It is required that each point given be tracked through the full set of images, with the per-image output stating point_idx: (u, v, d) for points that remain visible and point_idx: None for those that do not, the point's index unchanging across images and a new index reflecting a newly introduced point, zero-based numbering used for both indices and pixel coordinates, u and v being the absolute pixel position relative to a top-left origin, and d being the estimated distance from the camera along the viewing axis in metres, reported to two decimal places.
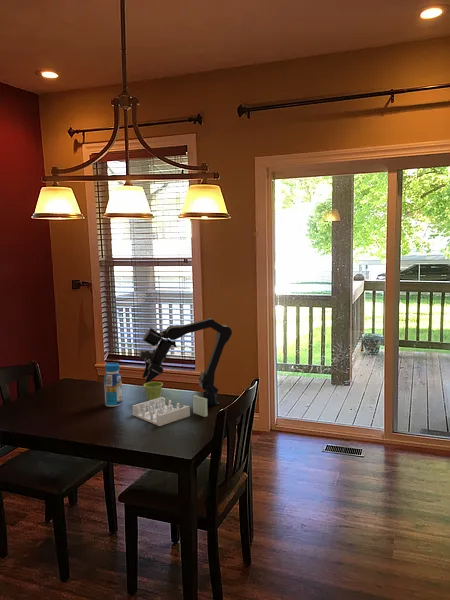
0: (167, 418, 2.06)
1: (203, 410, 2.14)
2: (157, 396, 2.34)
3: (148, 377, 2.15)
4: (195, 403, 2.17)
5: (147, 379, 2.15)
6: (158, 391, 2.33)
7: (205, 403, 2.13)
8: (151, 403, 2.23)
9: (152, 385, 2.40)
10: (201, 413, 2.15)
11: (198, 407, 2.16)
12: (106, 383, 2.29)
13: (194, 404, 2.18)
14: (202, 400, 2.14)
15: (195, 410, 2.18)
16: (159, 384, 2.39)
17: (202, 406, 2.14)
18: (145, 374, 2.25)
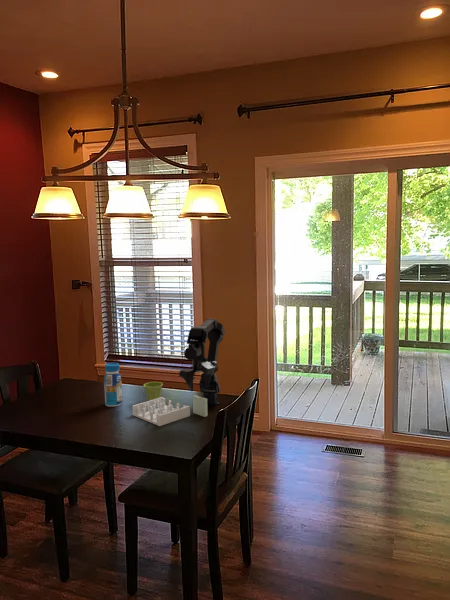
0: (167, 418, 2.06)
1: (203, 410, 2.14)
2: (157, 396, 2.34)
3: None
4: (195, 403, 2.17)
5: None
6: (158, 391, 2.33)
7: (205, 403, 2.13)
8: (151, 403, 2.23)
9: (152, 385, 2.40)
10: (201, 413, 2.15)
11: (198, 407, 2.16)
12: (106, 383, 2.29)
13: (194, 404, 2.18)
14: (202, 400, 2.14)
15: (195, 410, 2.18)
16: (159, 384, 2.39)
17: (202, 406, 2.14)
18: None
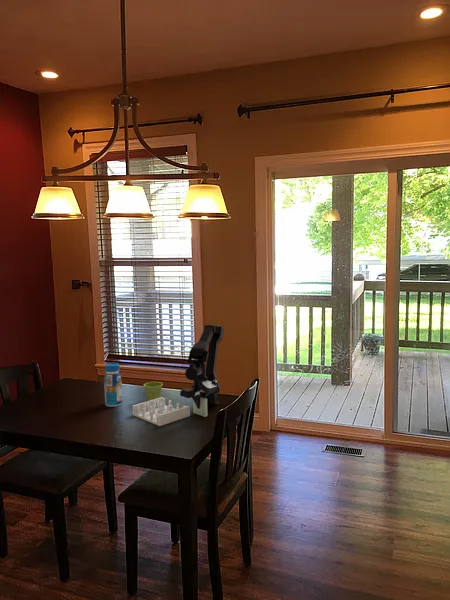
0: (167, 418, 2.06)
1: (203, 410, 2.14)
2: (157, 396, 2.34)
3: None
4: None
5: None
6: (158, 391, 2.33)
7: (205, 403, 2.13)
8: (151, 403, 2.23)
9: (152, 385, 2.40)
10: (201, 413, 2.15)
11: None
12: (106, 383, 2.29)
13: (194, 404, 2.18)
14: (202, 400, 2.14)
15: (195, 410, 2.18)
16: (159, 384, 2.39)
17: (202, 406, 2.14)
18: None
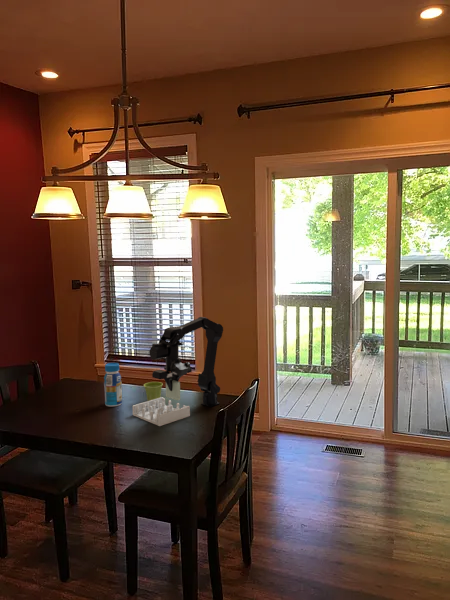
0: (167, 418, 2.06)
1: (176, 393, 2.12)
2: (157, 396, 2.34)
3: None
4: None
5: None
6: (158, 391, 2.33)
7: (178, 386, 2.11)
8: (151, 403, 2.23)
9: (152, 385, 2.40)
10: (174, 396, 2.13)
11: None
12: (106, 383, 2.29)
13: (167, 388, 2.16)
14: (175, 383, 2.12)
15: (168, 394, 2.16)
16: (159, 384, 2.39)
17: (175, 389, 2.12)
18: None
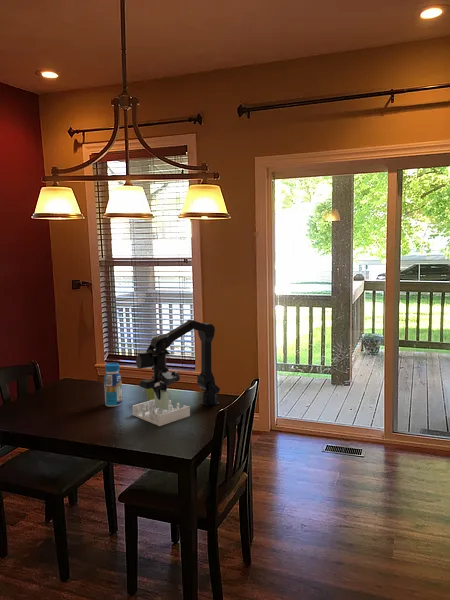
0: (167, 418, 2.06)
1: (164, 403, 2.13)
2: None
3: None
4: (156, 396, 2.16)
5: None
6: None
7: (166, 396, 2.12)
8: (151, 403, 2.23)
9: None
10: (162, 406, 2.14)
11: (159, 400, 2.15)
12: (106, 383, 2.29)
13: (155, 397, 2.17)
14: (163, 393, 2.12)
15: (156, 403, 2.16)
16: None
17: (163, 399, 2.13)
18: None
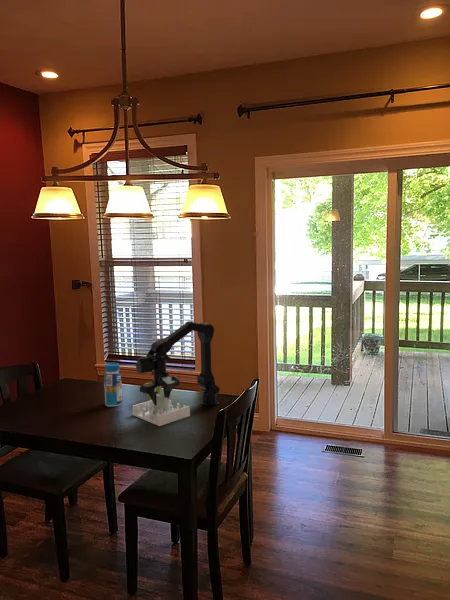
0: (167, 418, 2.06)
1: (164, 409, 2.13)
2: None
3: None
4: None
5: None
6: (158, 391, 2.33)
7: (166, 402, 2.12)
8: (151, 403, 2.23)
9: None
10: None
11: (159, 406, 2.15)
12: (106, 383, 2.29)
13: None
14: (163, 399, 2.13)
15: (156, 409, 2.17)
16: None
17: (163, 405, 2.13)
18: None
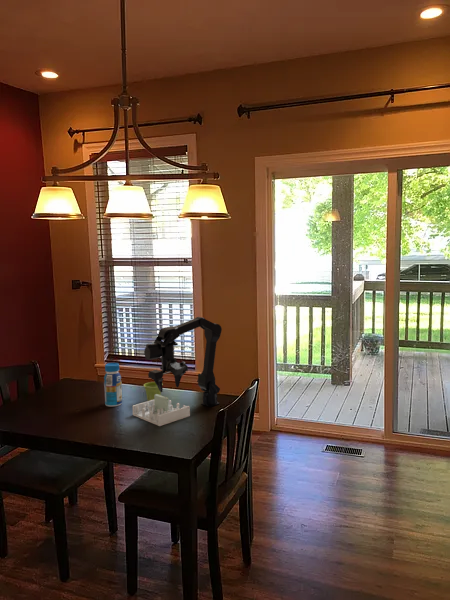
0: (167, 418, 2.06)
1: (164, 409, 2.13)
2: None
3: None
4: (156, 402, 2.16)
5: None
6: (158, 391, 2.33)
7: (166, 402, 2.12)
8: (151, 403, 2.23)
9: (152, 385, 2.40)
10: None
11: (159, 406, 2.15)
12: (106, 383, 2.29)
13: (155, 403, 2.17)
14: (163, 399, 2.13)
15: (156, 409, 2.17)
16: None
17: (163, 405, 2.13)
18: None
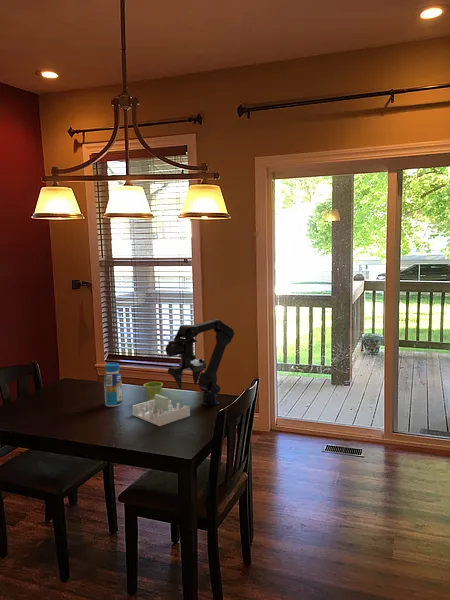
0: (167, 418, 2.06)
1: (164, 409, 2.13)
2: None
3: None
4: (156, 402, 2.16)
5: None
6: (158, 391, 2.33)
7: (166, 402, 2.12)
8: (151, 403, 2.23)
9: (152, 385, 2.40)
10: None
11: (159, 406, 2.15)
12: (106, 383, 2.29)
13: (155, 403, 2.17)
14: (163, 399, 2.13)
15: (156, 409, 2.17)
16: (159, 384, 2.39)
17: (163, 405, 2.13)
18: None
